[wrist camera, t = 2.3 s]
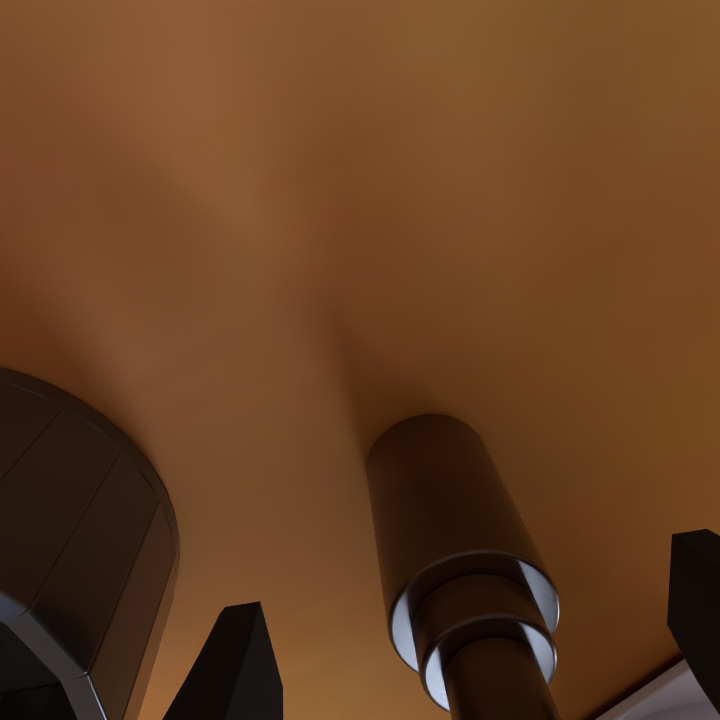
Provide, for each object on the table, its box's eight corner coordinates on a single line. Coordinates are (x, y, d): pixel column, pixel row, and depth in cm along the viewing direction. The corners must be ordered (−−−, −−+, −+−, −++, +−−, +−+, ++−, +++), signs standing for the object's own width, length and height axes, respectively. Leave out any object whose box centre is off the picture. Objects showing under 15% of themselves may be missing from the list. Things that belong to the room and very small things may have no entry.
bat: (512, 466, 16) (714, 833, 8) (423, 539, 16) (524, 948, 8) (432, 389, 15) (567, 716, 7) (341, 470, 15) (366, 855, 7)
